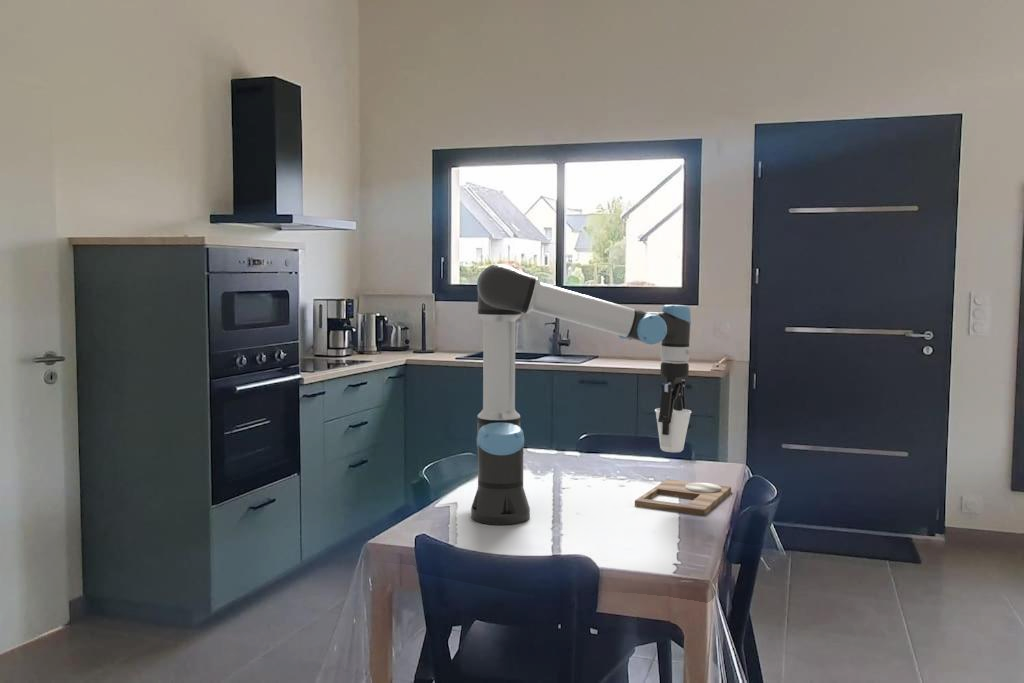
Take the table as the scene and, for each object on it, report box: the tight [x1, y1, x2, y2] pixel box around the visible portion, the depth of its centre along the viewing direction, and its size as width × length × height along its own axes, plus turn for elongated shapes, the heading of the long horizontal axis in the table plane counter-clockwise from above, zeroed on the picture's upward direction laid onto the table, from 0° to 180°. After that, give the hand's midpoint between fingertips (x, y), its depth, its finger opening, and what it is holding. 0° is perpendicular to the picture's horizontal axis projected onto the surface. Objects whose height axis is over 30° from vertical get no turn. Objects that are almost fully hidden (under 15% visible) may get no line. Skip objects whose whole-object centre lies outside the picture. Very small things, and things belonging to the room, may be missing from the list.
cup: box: [654, 407, 693, 453], centre depth 239 cm, size 10×10×11 cm
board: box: [634, 478, 732, 516], centre depth 244 cm, size 28×19×2 cm
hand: (671, 443), depth 239 cm, fingers closed on cup, 9 cm apart
